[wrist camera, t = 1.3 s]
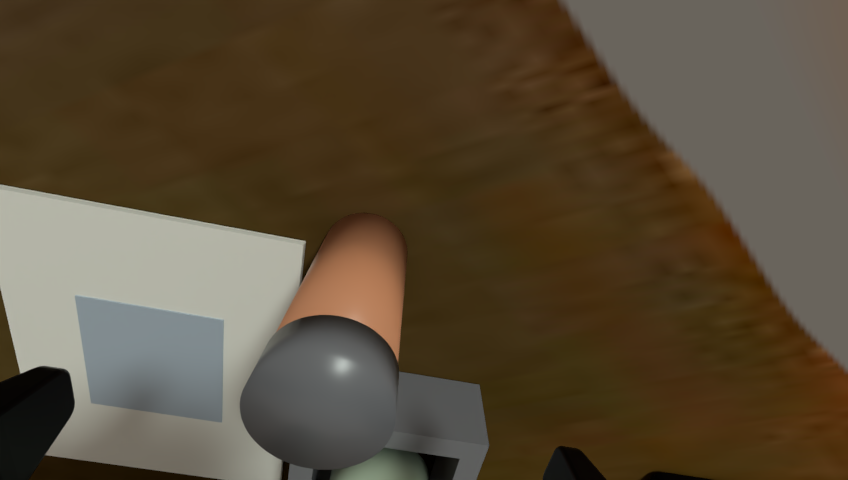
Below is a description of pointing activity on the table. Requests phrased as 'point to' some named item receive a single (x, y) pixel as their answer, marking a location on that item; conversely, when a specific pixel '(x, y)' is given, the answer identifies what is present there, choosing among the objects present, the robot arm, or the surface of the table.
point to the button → (386, 467)
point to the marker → (334, 353)
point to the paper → (146, 327)
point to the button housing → (433, 427)
